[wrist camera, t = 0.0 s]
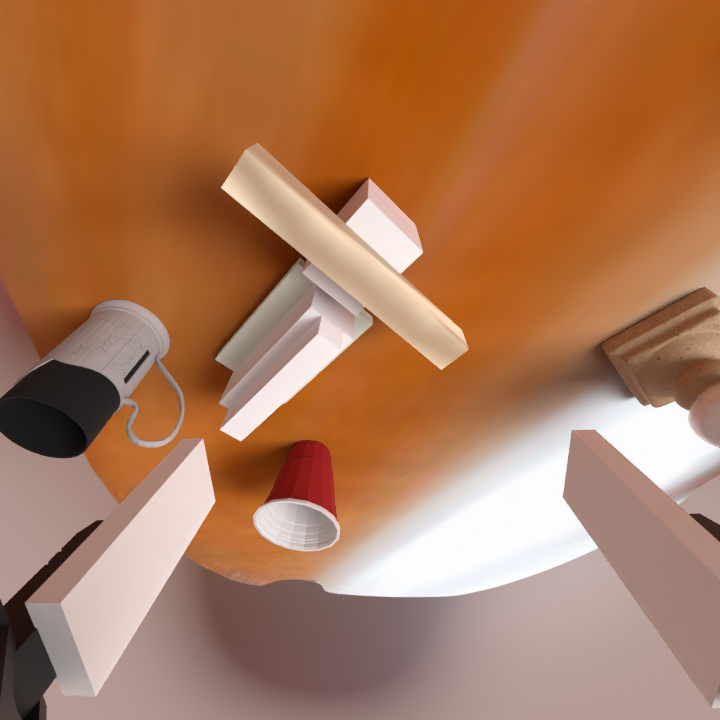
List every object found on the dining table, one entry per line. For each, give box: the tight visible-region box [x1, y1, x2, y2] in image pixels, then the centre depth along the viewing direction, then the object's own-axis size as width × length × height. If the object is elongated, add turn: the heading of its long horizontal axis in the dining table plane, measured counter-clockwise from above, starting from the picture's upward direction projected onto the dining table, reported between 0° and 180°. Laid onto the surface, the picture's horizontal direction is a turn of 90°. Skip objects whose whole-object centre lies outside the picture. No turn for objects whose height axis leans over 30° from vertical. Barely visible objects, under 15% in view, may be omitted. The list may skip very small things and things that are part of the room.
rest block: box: [302, 178, 423, 316], centre depth 34 cm, size 8×6×7 cm
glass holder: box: [0, 300, 185, 458], centre depth 39 cm, size 9×14×15 cm, turn 66°
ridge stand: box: [215, 258, 373, 441], centre depth 40 cm, size 16×10×10 cm, turn 137°
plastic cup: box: [253, 440, 340, 551], centre depth 51 cm, size 11×11×12 cm
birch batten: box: [221, 143, 469, 370], centre depth 30 cm, size 3×22×3 cm, turn 48°
